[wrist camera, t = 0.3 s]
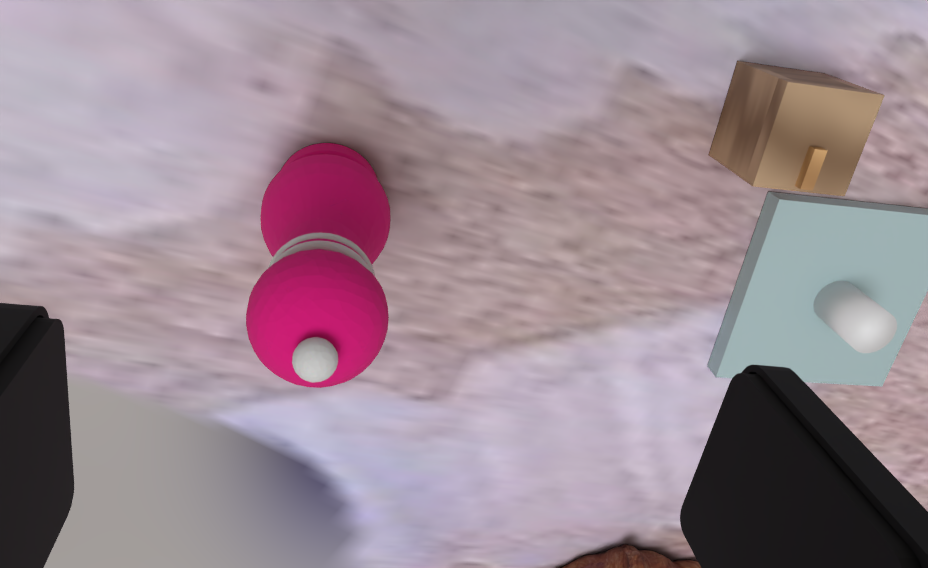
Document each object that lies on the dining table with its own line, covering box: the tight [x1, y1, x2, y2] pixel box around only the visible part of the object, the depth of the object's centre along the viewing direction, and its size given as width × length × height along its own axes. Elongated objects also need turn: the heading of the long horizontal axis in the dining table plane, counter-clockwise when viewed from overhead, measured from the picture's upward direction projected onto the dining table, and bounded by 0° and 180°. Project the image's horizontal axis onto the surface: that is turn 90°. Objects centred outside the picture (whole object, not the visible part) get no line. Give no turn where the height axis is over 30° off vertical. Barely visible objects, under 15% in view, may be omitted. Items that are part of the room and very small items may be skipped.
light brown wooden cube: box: [709, 61, 884, 196], centre depth 45 cm, size 6×6×7 cm
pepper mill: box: [246, 143, 390, 388], centre depth 37 cm, size 7×7×20 cm
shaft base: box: [708, 192, 928, 386], centre depth 52 cm, size 14×14×6 cm
